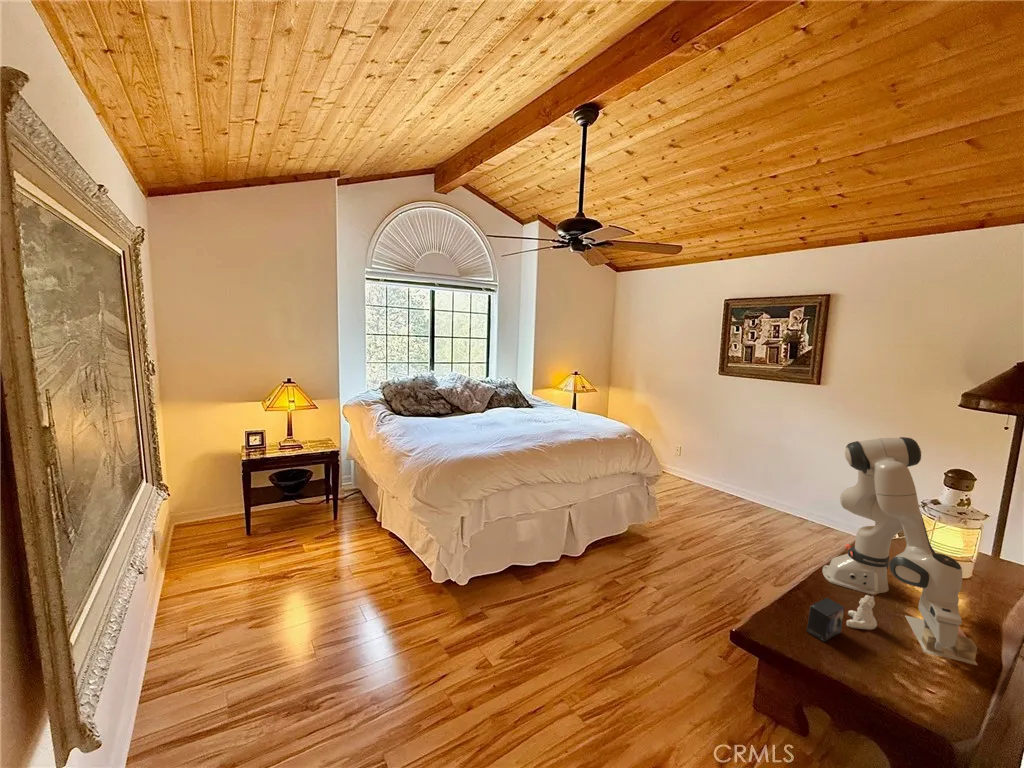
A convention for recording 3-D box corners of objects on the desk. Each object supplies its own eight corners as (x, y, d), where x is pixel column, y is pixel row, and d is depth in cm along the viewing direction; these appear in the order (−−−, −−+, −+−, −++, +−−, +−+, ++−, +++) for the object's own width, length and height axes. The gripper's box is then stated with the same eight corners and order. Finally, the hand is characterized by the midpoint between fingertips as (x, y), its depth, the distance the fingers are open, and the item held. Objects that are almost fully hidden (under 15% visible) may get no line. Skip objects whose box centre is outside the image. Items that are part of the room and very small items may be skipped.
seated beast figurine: (847, 612, 174) (851, 584, 172) (876, 622, 168) (881, 593, 166) (845, 626, 166) (849, 596, 164) (876, 637, 161) (880, 606, 159)
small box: (824, 643, 158) (828, 616, 156) (805, 631, 164) (808, 605, 162) (842, 633, 163) (845, 606, 161) (822, 622, 168) (826, 596, 167)
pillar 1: (926, 649, 155) (928, 635, 154) (921, 640, 159) (923, 627, 158) (943, 653, 153) (946, 640, 152) (938, 644, 157) (940, 631, 156)
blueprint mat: (924, 652, 154) (924, 651, 153) (904, 616, 172) (904, 615, 172) (978, 666, 148) (978, 665, 148) (951, 627, 166) (951, 625, 166)
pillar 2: (956, 656, 151) (958, 643, 150) (950, 647, 155) (953, 634, 154) (974, 661, 149) (977, 647, 148) (968, 652, 153) (971, 638, 152)
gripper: (916, 583, 164) (910, 618, 166) (938, 618, 145) (931, 657, 148) (939, 588, 161) (932, 623, 163) (964, 624, 143) (957, 663, 145)
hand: (932, 640), depth 155 cm, fingers open, 8 cm apart
